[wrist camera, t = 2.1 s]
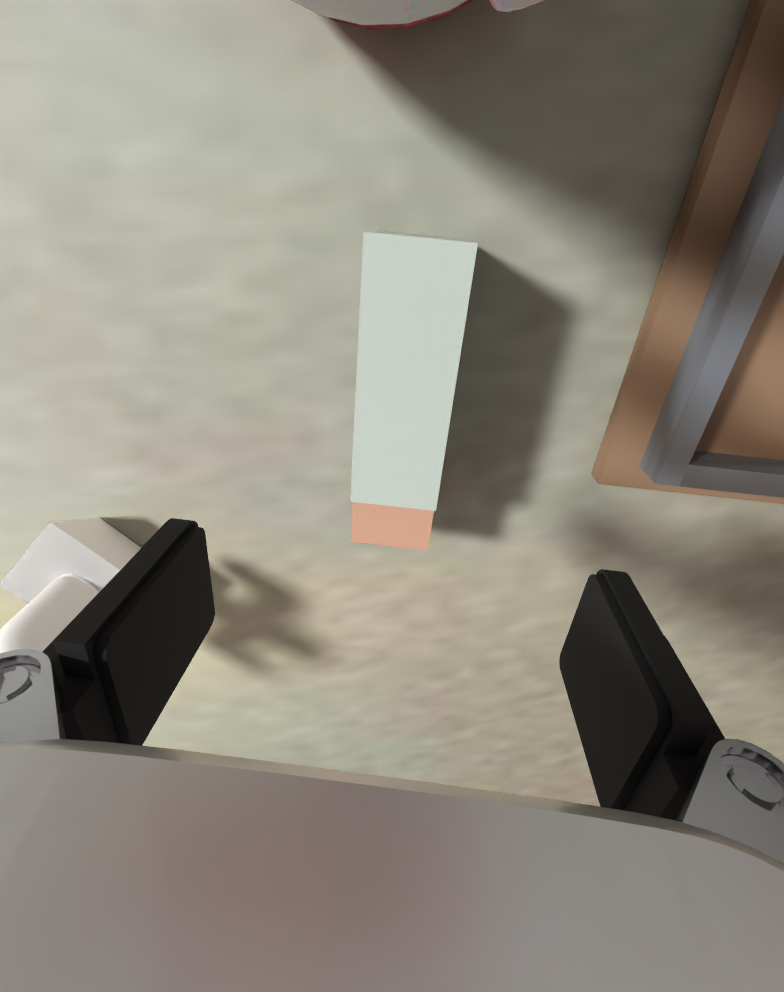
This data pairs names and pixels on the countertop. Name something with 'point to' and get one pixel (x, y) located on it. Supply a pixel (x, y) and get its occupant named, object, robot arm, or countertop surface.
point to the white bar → (406, 380)
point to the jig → (717, 305)
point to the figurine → (61, 578)
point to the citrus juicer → (397, 10)
